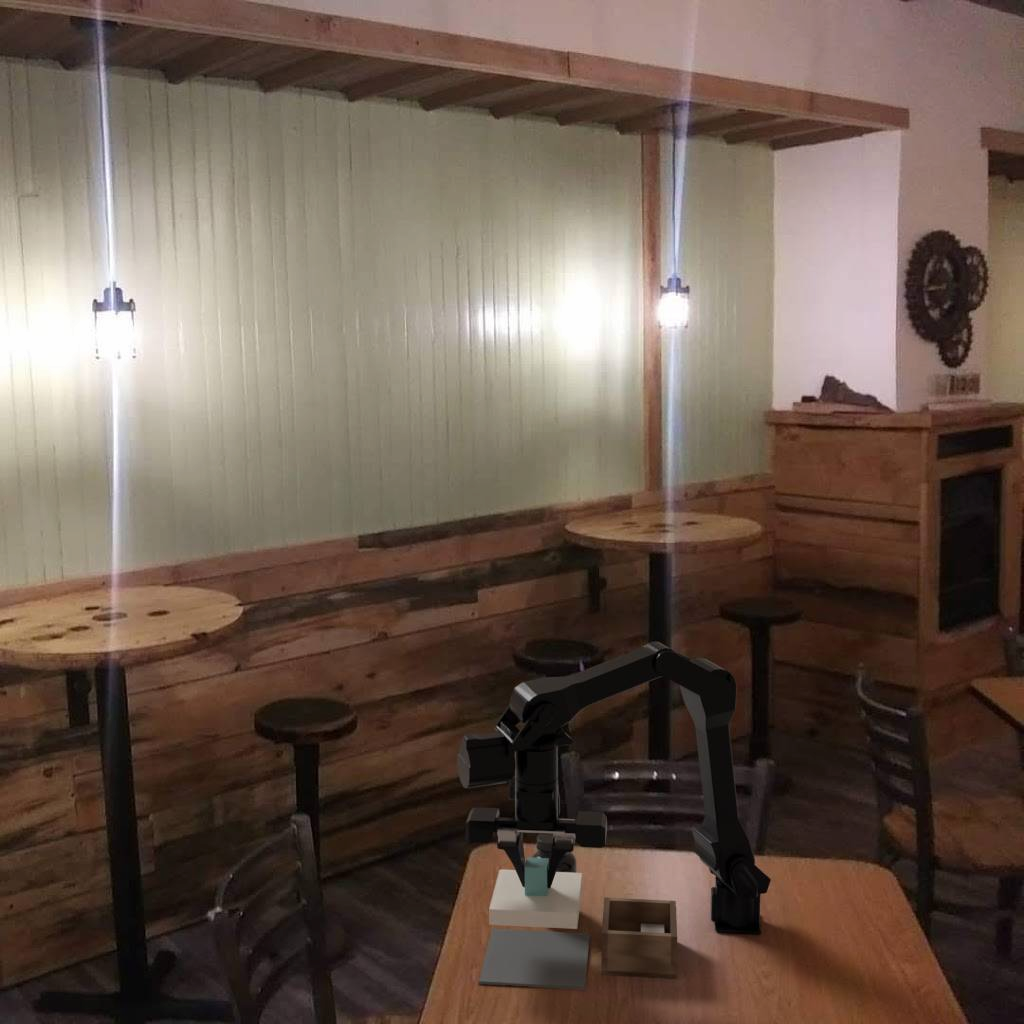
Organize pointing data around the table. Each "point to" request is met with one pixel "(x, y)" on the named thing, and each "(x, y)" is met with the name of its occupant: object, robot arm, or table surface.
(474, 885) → the table surface
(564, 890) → the lid
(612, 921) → the parts box
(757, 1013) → the table surface
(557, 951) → the mat
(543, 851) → the supplement bottle
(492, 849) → the table surface
